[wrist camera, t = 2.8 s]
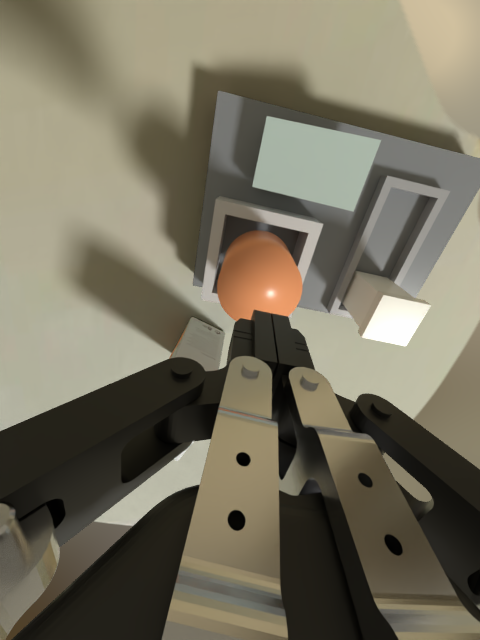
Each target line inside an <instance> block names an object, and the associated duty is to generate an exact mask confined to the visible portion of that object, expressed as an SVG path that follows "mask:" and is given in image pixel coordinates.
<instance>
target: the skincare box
mask: <svg viewBox="0 0 480 640" xmlns="http://www.w3.org/2000/svg"><path fill="white" fill-rule="evenodd" d="M224 337H225V333H224V332H223V331H221V330H219V329H217V328H215V327H212V326H210V325H208V324H206V323H204V322H202V321H200V320H198V319H197V318H194V317H191V318H190V320H189V322H188V324H187V326H186V328H185V330H184V332H183V334H182V336H181V338H180V339H179V341H178V343H177V345H176V347H175V348H174V350H173V352H172V354H171V356H170V358H175V357H185V358H190V359H193V360H195V361H197V362H198V363H200V364H201V365H202V366H203V368H204V370H205V371H215V370H219V366H220V360H221V355H222V349H223V343H224ZM170 358H169V359H170ZM193 442H194V441H192V443H191V445H192V444H193ZM191 445H190V446H191ZM190 446H189V447H190ZM189 447H188V448H189ZM188 448H187V449H188ZM187 449H186V450H187ZM186 450H185V451H183V452H182V453H181V454H179V455H178V456H177V457H176V458H174V459H173V460H176V461H178V460H179V459H180V458H181V457H182V456H183V454H184V453H185V452H186Z"/></svg>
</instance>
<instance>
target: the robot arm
mask: <svg viewBox="0 0 480 640" xmlns="http://www.w3.org/2000/svg"><path fill="white" fill-rule="evenodd" d="M207 439H211V442H210V446H209V450H208V454H207V458H206V462H205V466H204V470H203V474H202V478H201V482H200V485H196V486H192V487H188V488H185V489H183V490H180V491H178V492H176V493H174V494H172V495H170V496H168V497H167V498H165V499H164V500H163V501H161V502H160V503H158V504H157V505H156V506H155V507H153V508H152V509H151V510H150V511H149V512H148V513H147V514H146V515H145V516H143V517H142V518H141V519H140V520H139V521H138V522H137V523H136V524H135V525H134V526H133V527H132V528H131V529H130V530H129V531H128V532H126V533H125V534H124V535H123V536H122V537H121V538H120V539H119V540H118V541H117V542H116V543H115V544H113V545H112V546H111V547H110V548H109V549H108V550H107V551H106V552H105V553H104V554H103V555H102V556H101V557H100V558H98V559H97V560H96V561H95V562H94V563H93V564H92V565H91V566H90V567H89V568H88V569H87V570H86V571H85V572H83V573H82V575H80V576H79V577H78V578H77V579H76V580H75V581H74V582H73V583H72V584H71V585H70V586H68V587H67V588H66V589H65V590H64V591H63V592H62V593H61V594H60V595H59V596H58V597H57V598H56V599H55V600H53V602H51V603H50V604H49V605H48V606H47V607H46V608H45V609H44V610H43V611H42V612H41V613H40V614H38V615H37V617H35V618H34V619H33V620H32V621H31V622H30V623H29V624H28V625H27V626H26V627H25V628H23V630H21V631H20V632H19V633H18V634H17V635H16V636H15V637H14V638H13V639H12V640H480V470H479V469H478V468H477V467H475V466H474V465H473V464H472V463H470V462H469V461H467V460H466V459H465V458H464V457H462V456H461V455H459V454H458V453H457V452H456V451H454V450H453V449H451V448H450V447H449V446H448V445H446V444H445V443H443V442H442V441H441V440H439V439H438V438H437V437H435V436H434V435H433V434H431V433H430V432H429V431H427V430H426V429H424V428H423V427H422V426H421V425H419V424H418V423H417V422H415V421H414V420H413V419H411V418H410V417H409V416H407V415H406V414H405V413H403V412H402V411H401V410H399V409H398V408H397V407H395V406H394V405H393V404H391V403H390V402H388V401H387V400H385V399H383V398H381V397H379V396H376V395H373V394H362V395H360V396H359V397H358V398H357V400H356V402H354V401H351V400H349V399H346V398H344V397H342V396H339V395H337V394H335V393H334V392H333V389H332V387H331V385H330V383H329V381H328V380H327V379H326V378H325V377H324V376H323V375H322V374H320V373H319V372H317V371H315V368H314V365H313V362H312V359H311V356H310V353H309V350H308V347H307V344H306V341H305V337H304V336H303V335H302V334H301V333H300V332H299V331H298V330H297V329H292V328H291V326H290V322H289V318H288V316H283V315H278V314H273V313H268V312H263V311H259V310H254V311H253V314H252V317H251V320H248V319H243V318H240V319H239V320H238V321H237V322H235V325H234V329H233V333H232V338H231V342H230V346H229V351H228V357H227V365H226V367H224V368H222V369H219V370H215V371H205V370H204V368H203V366H202V365H201V364H200V363H198V362H197V361H195V360H193V359H190V358H185V357H175V358H170V359H167V360H165V361H163V362H160V363H158V364H156V365H153V366H151V367H149V368H146V369H144V370H142V371H139V372H137V373H135V374H132V375H130V376H128V377H125V378H123V379H121V380H118V381H116V382H114V383H111V384H109V385H107V386H104V387H102V388H100V389H97V390H95V391H93V392H91V393H88V394H86V395H84V396H81V397H79V398H77V399H74V400H72V401H70V402H67V403H65V404H63V405H60V406H58V407H56V408H53V409H51V410H49V411H46V412H44V413H42V414H39V415H37V416H35V417H32V418H30V419H28V420H25V421H23V422H21V423H18V424H16V425H14V426H11V427H9V428H7V429H5V430H2V431H0V640H5V639H6V637H7V635H8V634H9V632H10V631H11V629H12V628H13V626H14V625H15V623H16V622H17V621H18V619H19V618H20V617H21V616H22V615H23V613H24V612H25V611H26V610H27V609H28V608H29V607H30V606H31V605H32V604H33V603H34V602H35V601H36V600H37V599H38V598H39V597H40V596H41V594H42V593H43V592H44V591H45V589H46V587H47V586H48V584H49V583H50V581H51V579H52V577H53V575H54V573H55V571H56V568H57V565H58V561H59V552H60V550H59V547H60V546H62V545H63V544H65V543H66V542H67V541H68V540H70V539H71V538H72V537H74V536H75V535H76V534H77V533H79V532H80V531H81V530H83V529H84V528H85V527H86V526H88V525H89V524H90V523H92V522H93V521H94V520H96V519H97V518H98V517H99V516H101V515H102V514H103V513H105V512H106V511H107V510H108V509H110V508H111V507H112V506H114V505H115V504H116V503H117V502H119V501H120V500H121V499H123V498H124V497H125V496H127V495H128V494H129V493H130V492H132V491H133V490H134V489H136V488H137V487H138V486H139V485H141V484H142V483H143V482H145V481H146V480H147V479H148V478H150V477H151V476H152V475H154V474H155V473H156V472H158V471H159V470H160V469H161V468H163V467H164V466H165V465H167V464H168V463H169V462H170V461H172V460H173V459H174V458H176V457H177V456H178V455H179V454H181V453H182V452H183V451H185V450H186V449H187V448H188V447H189V446H190V445H191V443H192V441H199V440H207ZM385 452H386V453H387V454H388V455H389V456H390V457H391V458H392V459H393V460H395V461H396V462H397V463H398V464H399V465H400V466H401V467H403V468H404V469H405V470H406V471H407V472H408V473H409V474H410V475H411V476H413V477H414V478H415V479H416V480H417V481H418V482H420V484H422V485H423V486H424V487H425V488H426V489H427V490H428V491H429V493H430V494H431V496H432V499H431V501H429V502H422V501H419V500H417V499H416V498H414V497H413V496H412V495H411V494H410V493H409V492H407V491H406V490H405V489H404V488H403V487H402V486H401V485H400V484H399V483H398V482H397V481H396V480H395V479H394V477H393V475H392V473H391V471H390V469H389V467H388V465H387V464H386V462H385V460H384V458H383V456H382V455H383V454H384V453H385Z"/></svg>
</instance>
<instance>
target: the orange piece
mask: <svg viewBox="0 0 480 640" xmlns="http://www.w3.org/2000/svg"><path fill="white" fill-rule="evenodd" d="M217 294H218V298H219V301H220V304H221V306H222V307H223V309H224V310H225V312H226V313H227V314H228V315H229V316H230V317H231V318H233V319H234V320H236V321H238V320H239V319H240V318H243V319H248V320H251V317H252V314H253V311H254V310H259V311H263V312H268V313H273V314H278V315H283V316H289V315H290V314H291V313H292V312H293V311H294V310H295V308H296V307H297V305H298V303H299V301H300V298H301V295H302V278H301V274H300V272H299V270H298V268H297V266H296V264H295V262H294V260H293V258H292V256H291V254H290V252H289V250H288V248H287V246H286V245H285V243H284V242H283V241H282V240H281V239H280V238H279V237H278V236H276V235H275V234H273V233H270V232H267V231H262V230H255V231H249V232H246V233H244V234H242V235H240V236H239V237H237V238H236V239H235V240H234V241H233V242H232V243H231V244H230V246H229V248H228V249H227V252H226V254H225V258H224V261H223V264H222V268H221V271H220V274H219V278H218V282H217Z"/></svg>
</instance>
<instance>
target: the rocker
mask: <svg viewBox="0 0 480 640" xmlns="http://www.w3.org/2000/svg"><path fill="white" fill-rule="evenodd" d="M380 142H381V140H378V139H373V138H369V137H364V136H359V135H354V134H350V133H345V132H340V131H336V130H331V129H326V128H321V127H317V126H312V125H307V124H303V123H298V122H293V121H288V120H284V119H279V118H274V117H269V116H267V118H266V122H265V127H264V132H263V137H262V142H261V147H260V152H259V156H258V161H257V166H256V171H255V176H254V181H253V185H252V187H255V188H259V189H263V190H267V191H271V192H275V193H280V194H284V195H288V196H292V197H296V198H300V199H304V200H308V201H312V202H316V203H320V204H325V205H329V206H333V207H337V208H341V209H345V210H349V211H353V212H354V209H355V207H356V204H357V201H358V199H359V196H360V194H361V191H362V189H363V186H364V184H365V181H366V178H367V176H368V173H369V171H370V168H371V166H372V163H373V160H374V158H375V155H376V153H377V150H378V148H379V145H380Z"/></svg>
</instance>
